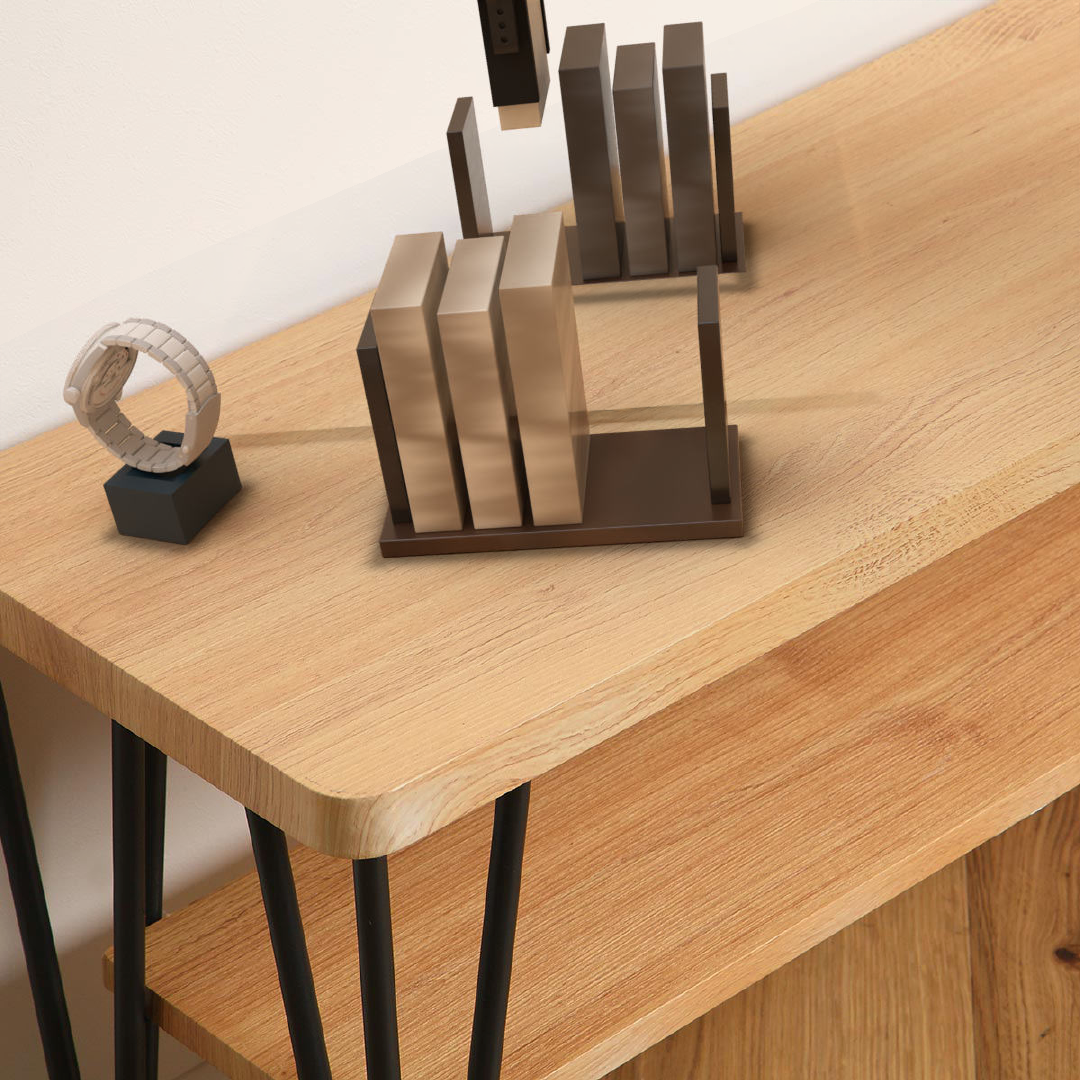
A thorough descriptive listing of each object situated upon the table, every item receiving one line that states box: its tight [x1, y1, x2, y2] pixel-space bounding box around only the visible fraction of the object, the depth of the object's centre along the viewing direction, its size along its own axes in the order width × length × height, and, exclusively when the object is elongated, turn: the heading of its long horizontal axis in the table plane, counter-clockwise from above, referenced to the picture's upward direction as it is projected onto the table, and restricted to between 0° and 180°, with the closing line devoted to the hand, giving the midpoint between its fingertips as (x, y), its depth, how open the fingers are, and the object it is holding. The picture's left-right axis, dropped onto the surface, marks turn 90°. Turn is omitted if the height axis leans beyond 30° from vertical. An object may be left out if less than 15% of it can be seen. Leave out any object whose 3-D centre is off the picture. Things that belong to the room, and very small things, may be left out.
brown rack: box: [355, 210, 744, 558], centre depth 80 cm, size 18×9×14 cm, turn 86°
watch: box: [62, 317, 243, 545], centre depth 84 cm, size 6×8×11 cm
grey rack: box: [445, 21, 747, 287], centre depth 101 cm, size 18×9×14 cm, turn 86°
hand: (522, 77), depth 99 cm, fingers closed on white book, 8 cm apart
